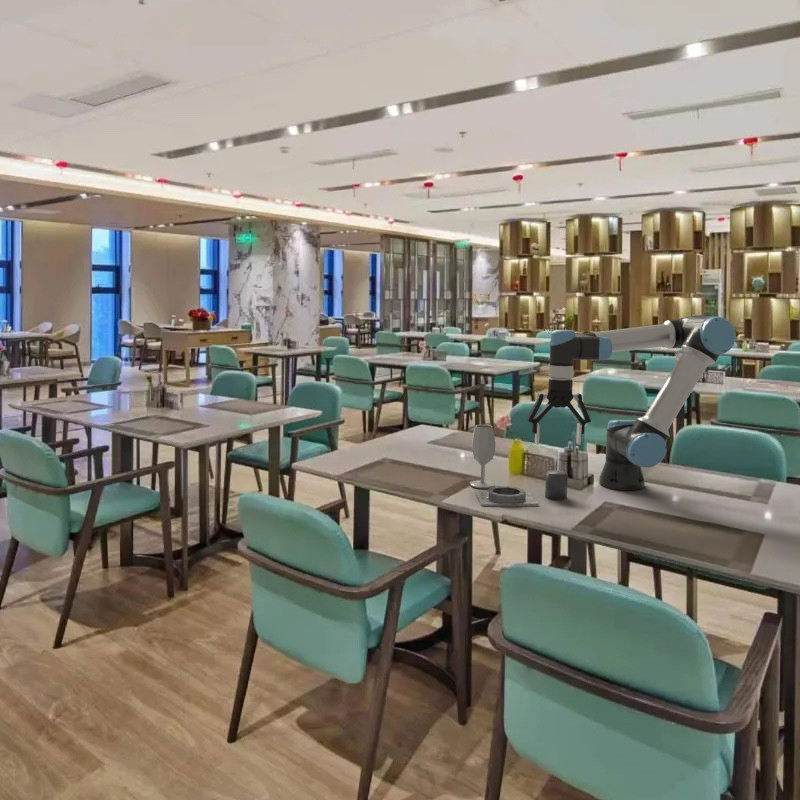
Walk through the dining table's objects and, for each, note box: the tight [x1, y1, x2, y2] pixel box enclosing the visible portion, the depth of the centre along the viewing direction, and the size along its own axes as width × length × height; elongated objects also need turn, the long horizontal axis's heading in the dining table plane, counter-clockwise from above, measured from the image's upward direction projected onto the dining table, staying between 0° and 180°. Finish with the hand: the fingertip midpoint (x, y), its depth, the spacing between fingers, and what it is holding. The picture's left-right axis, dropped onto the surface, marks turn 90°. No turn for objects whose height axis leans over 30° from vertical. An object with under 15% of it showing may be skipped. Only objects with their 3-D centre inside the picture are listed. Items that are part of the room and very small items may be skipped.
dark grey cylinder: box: [544, 469, 569, 501], centre depth 240 cm, size 7×7×8 cm
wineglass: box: [469, 424, 496, 490], centre depth 252 cm, size 9×9×21 cm
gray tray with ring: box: [475, 485, 539, 507], centre depth 237 cm, size 18×13×3 cm
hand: (557, 443), depth 238 cm, fingers open, 13 cm apart
